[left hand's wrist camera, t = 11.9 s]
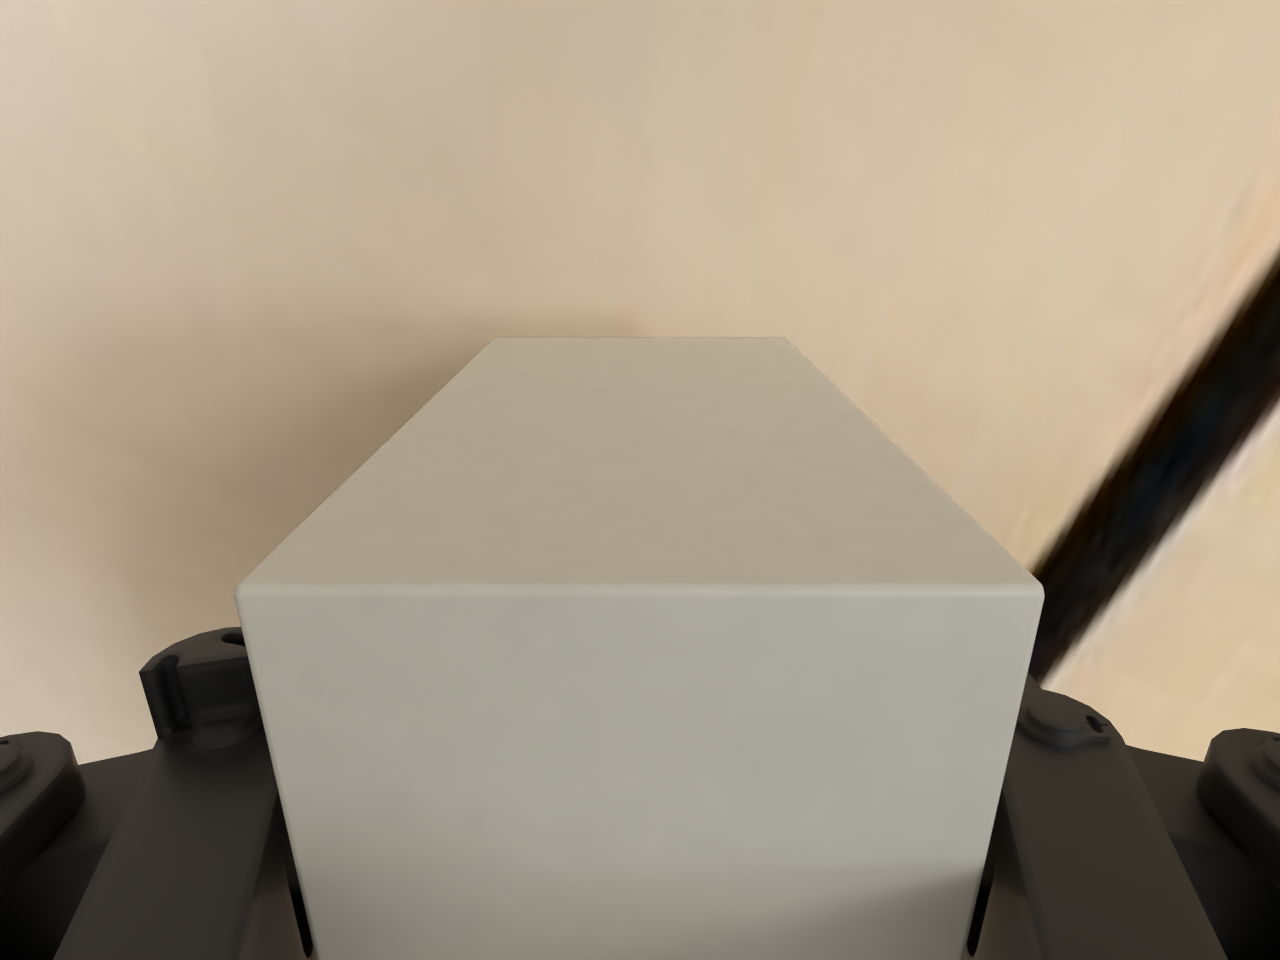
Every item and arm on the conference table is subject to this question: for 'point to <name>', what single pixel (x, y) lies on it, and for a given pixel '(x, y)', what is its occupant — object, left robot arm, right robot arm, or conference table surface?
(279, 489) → the conference table surface
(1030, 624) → the bar
